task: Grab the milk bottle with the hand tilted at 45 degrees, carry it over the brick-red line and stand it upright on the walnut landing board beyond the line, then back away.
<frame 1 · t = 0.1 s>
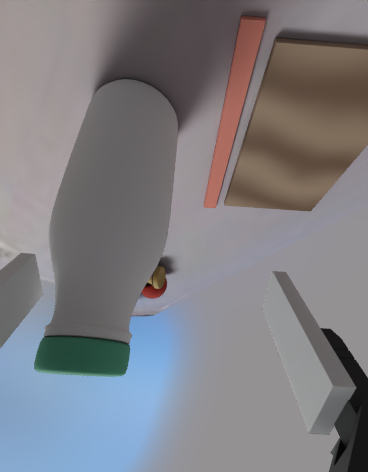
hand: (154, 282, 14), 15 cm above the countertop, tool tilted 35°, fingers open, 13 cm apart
landing board: (282, 148, 25), on the countertop
kendama: (144, 258, 51), on the countertop
milk bottle: (135, 118, 23), on the countertop
foul line: (223, 144, 25), on the countertop
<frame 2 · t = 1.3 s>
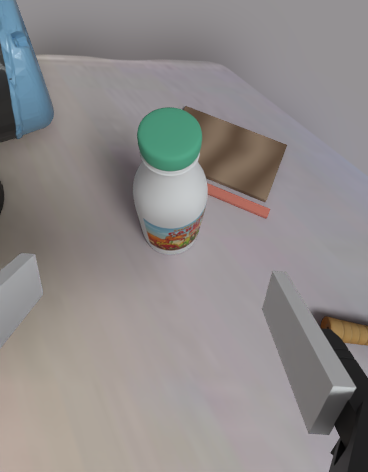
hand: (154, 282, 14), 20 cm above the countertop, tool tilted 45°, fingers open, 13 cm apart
landing board: (219, 159, 41), on the countertop
milk bottle: (170, 230, 37), on the countertop
foul line: (205, 188, 39), on the countertop
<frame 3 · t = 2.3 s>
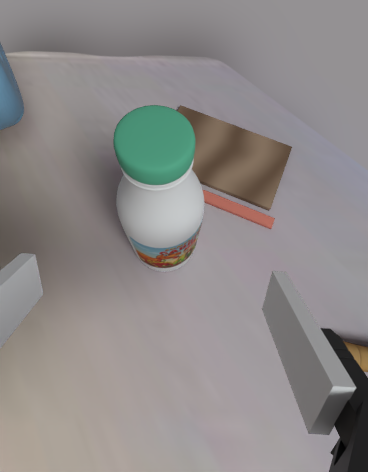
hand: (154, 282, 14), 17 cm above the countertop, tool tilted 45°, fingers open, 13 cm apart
landing board: (217, 164, 37), on the countertop
milk bottle: (164, 243, 33), on the countertop
foul line: (203, 196, 35), on the countertop
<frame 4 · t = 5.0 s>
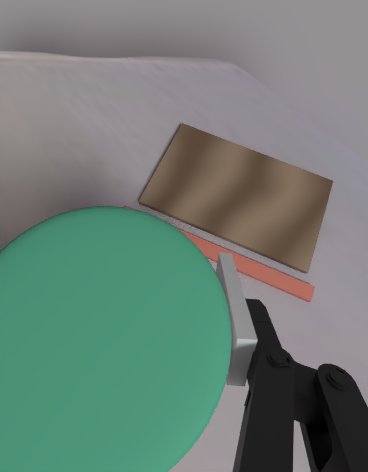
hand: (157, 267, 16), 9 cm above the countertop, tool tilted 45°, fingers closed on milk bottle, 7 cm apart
landing board: (233, 204, 27), on the countertop
milk bottle: (159, 325, 23), on the countertop, touching gripper
foul line: (213, 252, 25), on the countertop
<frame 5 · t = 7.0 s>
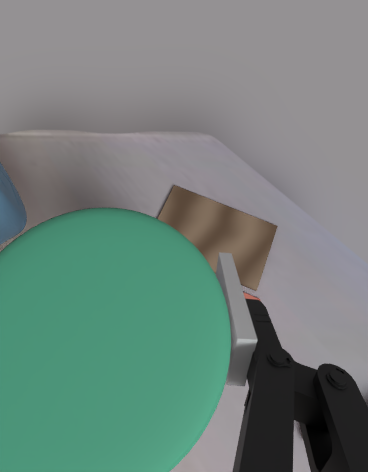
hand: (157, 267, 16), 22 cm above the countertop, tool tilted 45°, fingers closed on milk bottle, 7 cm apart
landing board: (208, 243, 40), on the countertop
milk bottle: (158, 325, 23), point 14 cm above the countertop, touching gripper
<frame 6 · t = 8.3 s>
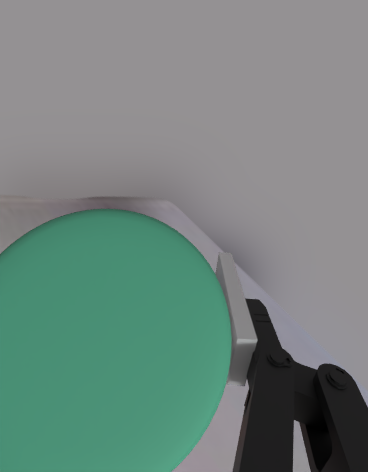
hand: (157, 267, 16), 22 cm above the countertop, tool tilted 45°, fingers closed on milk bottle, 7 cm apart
milk bottle: (158, 325, 23), point 13 cm above the countertop, touching gripper
when the fingers open (11 cm above the countertop, at t = 11.2 s): milk bottle drops 1 cm, resting on landing board.
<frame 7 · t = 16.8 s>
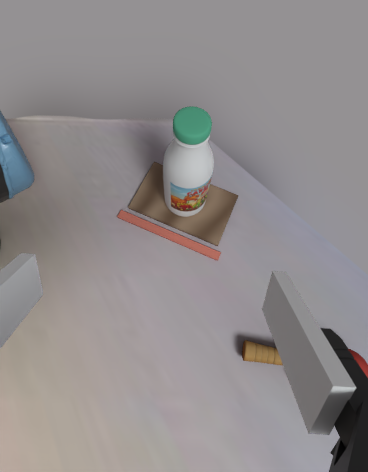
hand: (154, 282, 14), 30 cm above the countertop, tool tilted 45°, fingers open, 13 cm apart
landing board: (181, 209, 49), on the countertop
kendama: (295, 360, 41), on the countertop
milk bottle: (185, 199, 49), resting on landing board
foul line: (168, 235, 47), on the countertop
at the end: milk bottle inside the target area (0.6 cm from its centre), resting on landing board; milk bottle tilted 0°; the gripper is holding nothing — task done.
